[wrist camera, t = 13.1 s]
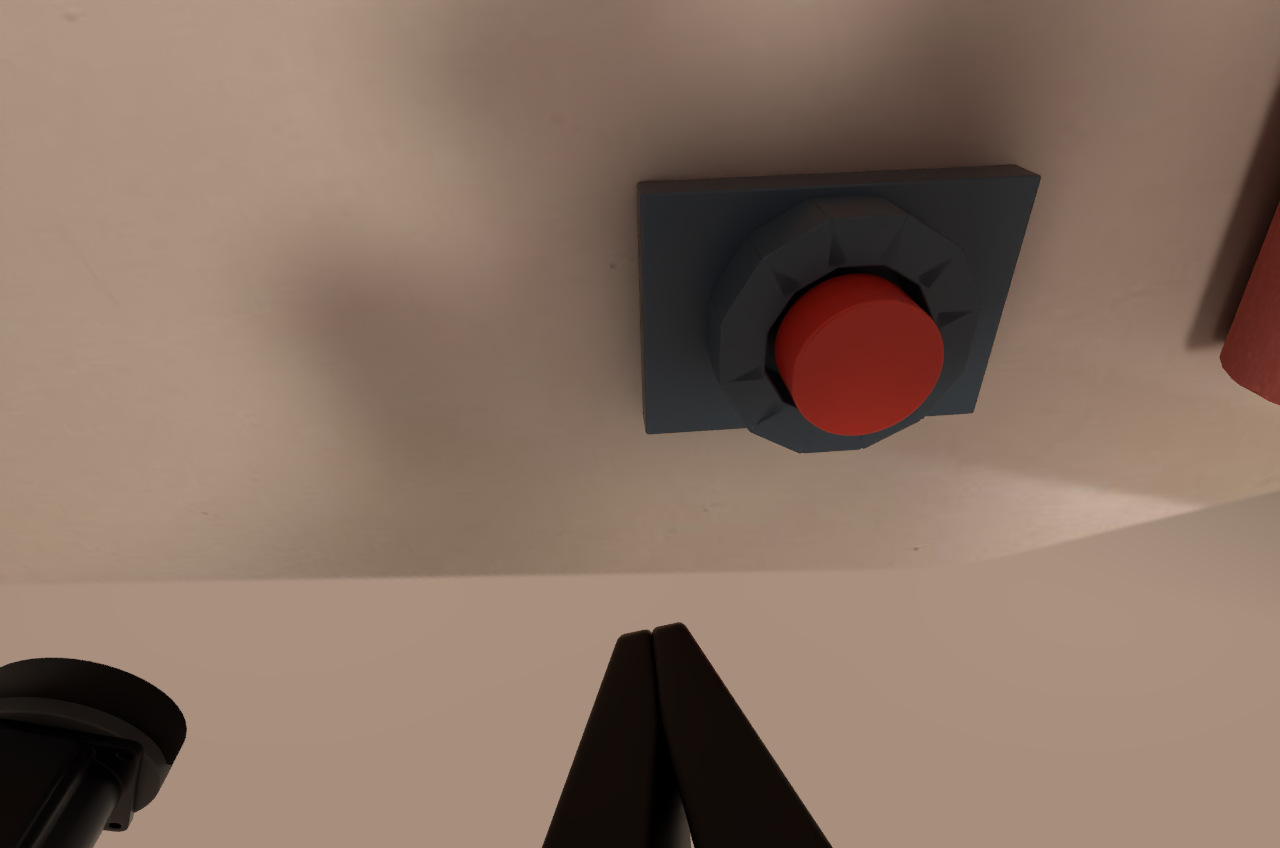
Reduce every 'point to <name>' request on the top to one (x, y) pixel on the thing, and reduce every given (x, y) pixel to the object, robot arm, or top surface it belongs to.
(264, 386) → the top surface
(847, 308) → the button
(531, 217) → the top surface
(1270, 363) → the blood vessel
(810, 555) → the top surface
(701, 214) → the button box
